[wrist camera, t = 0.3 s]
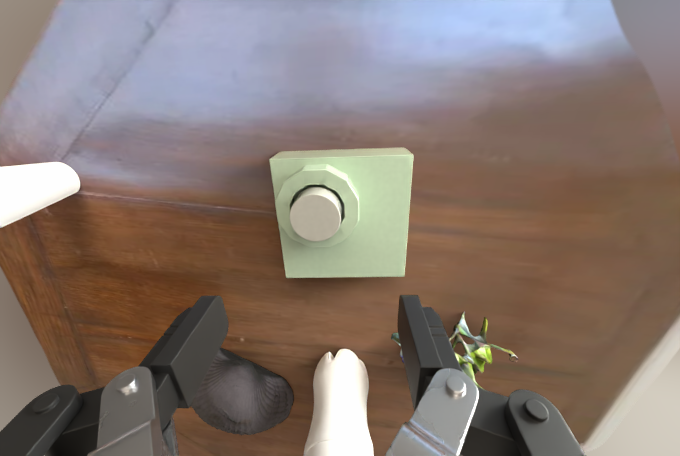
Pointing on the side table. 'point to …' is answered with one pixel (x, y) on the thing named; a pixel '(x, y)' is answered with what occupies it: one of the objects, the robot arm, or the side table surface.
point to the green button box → (347, 211)
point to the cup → (33, 188)
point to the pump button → (316, 214)
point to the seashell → (242, 396)
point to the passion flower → (470, 349)
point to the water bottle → (340, 408)
